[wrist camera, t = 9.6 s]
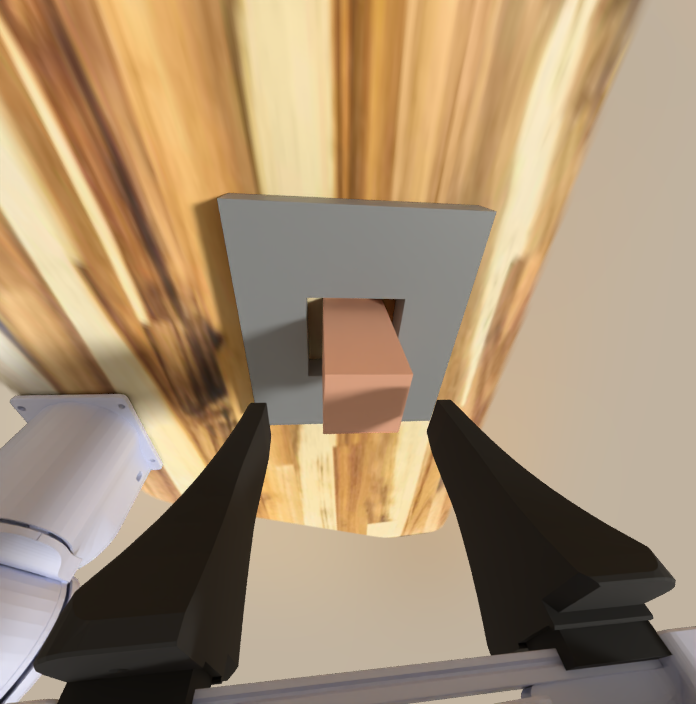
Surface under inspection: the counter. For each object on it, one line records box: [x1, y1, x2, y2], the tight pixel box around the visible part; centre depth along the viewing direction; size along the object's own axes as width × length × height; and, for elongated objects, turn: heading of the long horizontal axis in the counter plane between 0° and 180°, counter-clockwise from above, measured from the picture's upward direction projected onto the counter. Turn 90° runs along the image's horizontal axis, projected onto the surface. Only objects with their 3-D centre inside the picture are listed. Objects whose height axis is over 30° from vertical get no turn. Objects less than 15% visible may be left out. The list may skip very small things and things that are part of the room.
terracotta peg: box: [322, 298, 413, 434], centre depth 17 cm, size 4×4×8 cm
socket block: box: [217, 193, 496, 425], centre depth 20 cm, size 16×14×2 cm
